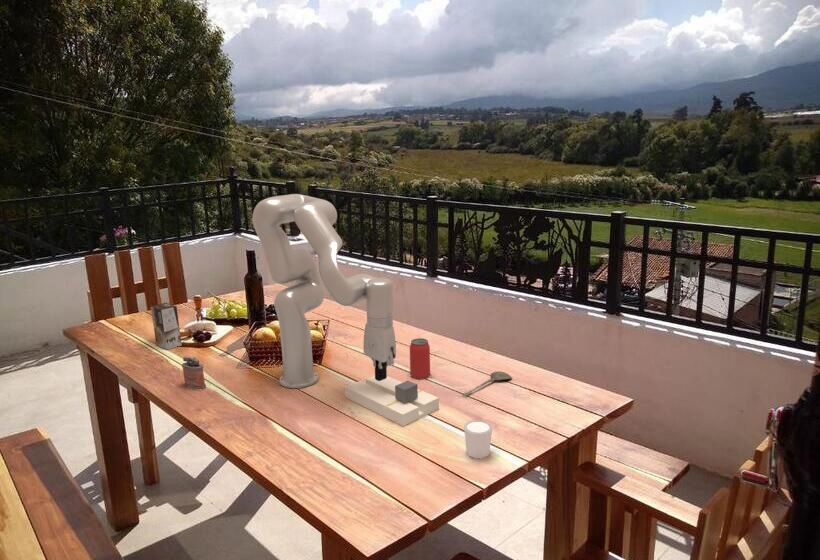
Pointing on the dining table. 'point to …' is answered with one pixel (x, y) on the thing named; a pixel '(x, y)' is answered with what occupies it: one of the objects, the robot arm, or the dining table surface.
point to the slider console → (390, 400)
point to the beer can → (419, 358)
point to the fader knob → (406, 391)
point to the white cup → (478, 438)
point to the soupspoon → (494, 376)
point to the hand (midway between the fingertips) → (380, 379)
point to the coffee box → (166, 325)
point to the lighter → (193, 373)
